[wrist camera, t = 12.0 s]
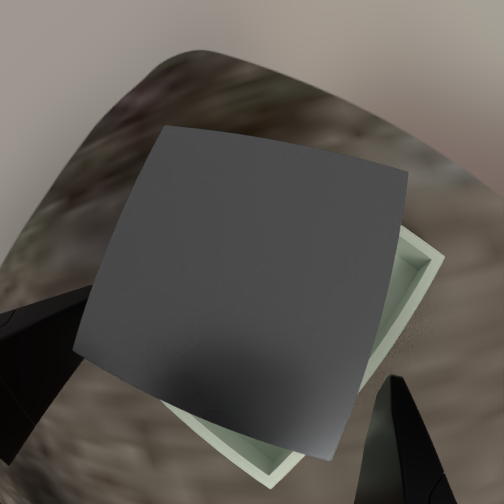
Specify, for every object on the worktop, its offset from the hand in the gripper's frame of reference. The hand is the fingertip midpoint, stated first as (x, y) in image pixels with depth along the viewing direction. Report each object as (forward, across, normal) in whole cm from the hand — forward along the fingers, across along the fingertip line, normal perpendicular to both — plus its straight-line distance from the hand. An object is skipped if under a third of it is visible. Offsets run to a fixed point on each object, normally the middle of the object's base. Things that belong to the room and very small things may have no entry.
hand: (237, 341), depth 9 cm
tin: (+7, 0, +5) cm, 9 cm away
